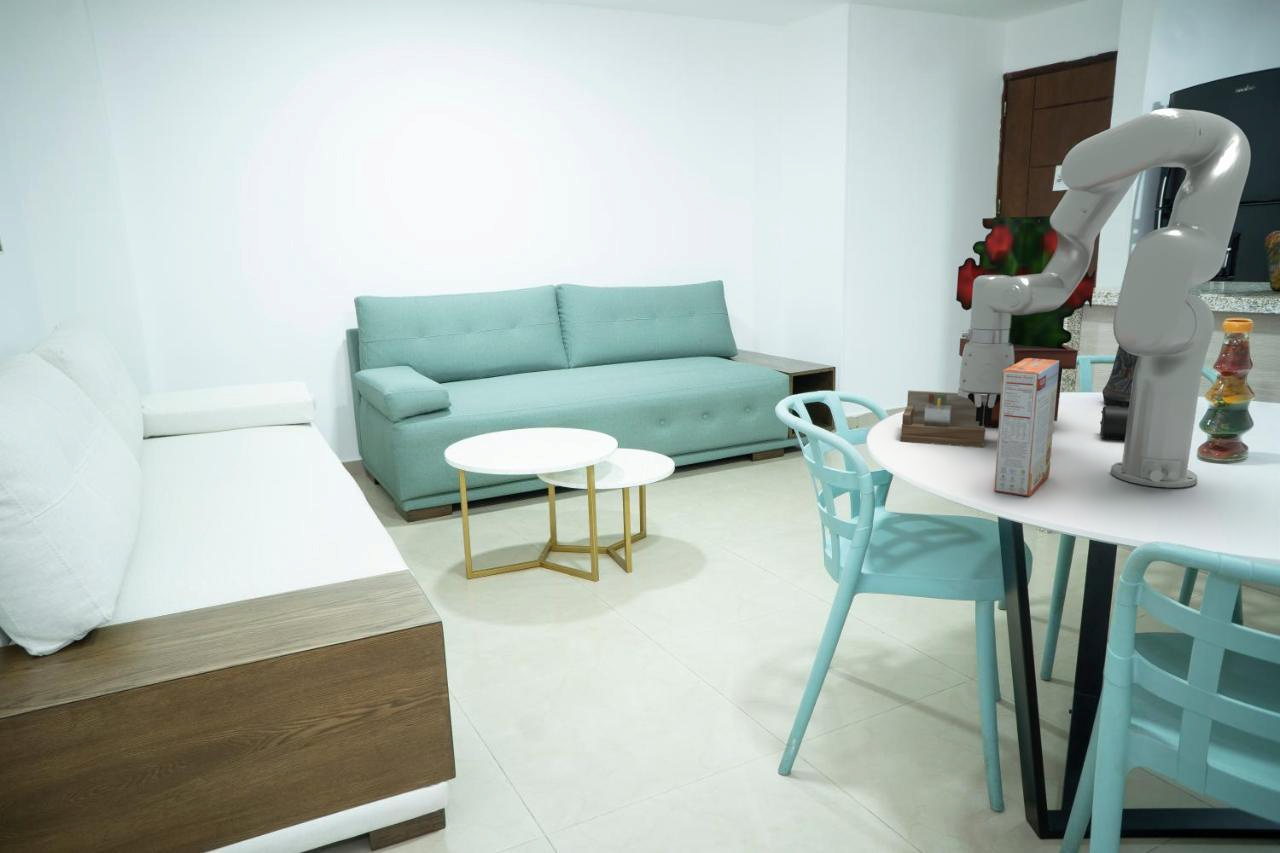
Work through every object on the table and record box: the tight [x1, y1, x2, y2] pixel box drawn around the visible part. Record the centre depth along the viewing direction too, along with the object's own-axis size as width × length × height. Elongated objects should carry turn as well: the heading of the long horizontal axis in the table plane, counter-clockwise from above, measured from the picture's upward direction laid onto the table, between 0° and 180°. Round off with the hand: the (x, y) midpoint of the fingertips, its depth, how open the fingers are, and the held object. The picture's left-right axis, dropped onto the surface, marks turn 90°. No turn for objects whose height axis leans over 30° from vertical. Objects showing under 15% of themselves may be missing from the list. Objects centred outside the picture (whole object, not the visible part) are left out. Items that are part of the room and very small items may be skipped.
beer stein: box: [1102, 345, 1139, 408], centre depth 185 cm, size 16×19×25 cm
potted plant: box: [955, 215, 1096, 427], centre depth 173 cm, size 22×22×45 cm
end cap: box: [1099, 405, 1129, 441], centre depth 160 cm, size 10×7×7 cm
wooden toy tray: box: [900, 389, 987, 448], centre depth 166 cm, size 14×16×8 cm
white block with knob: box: [924, 398, 952, 427], centre depth 166 cm, size 5×5×6 cm
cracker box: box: [993, 358, 1059, 497], centre depth 132 cm, size 14×6×21 cm, turn 141°
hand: (983, 424), depth 163 cm, fingers closed
